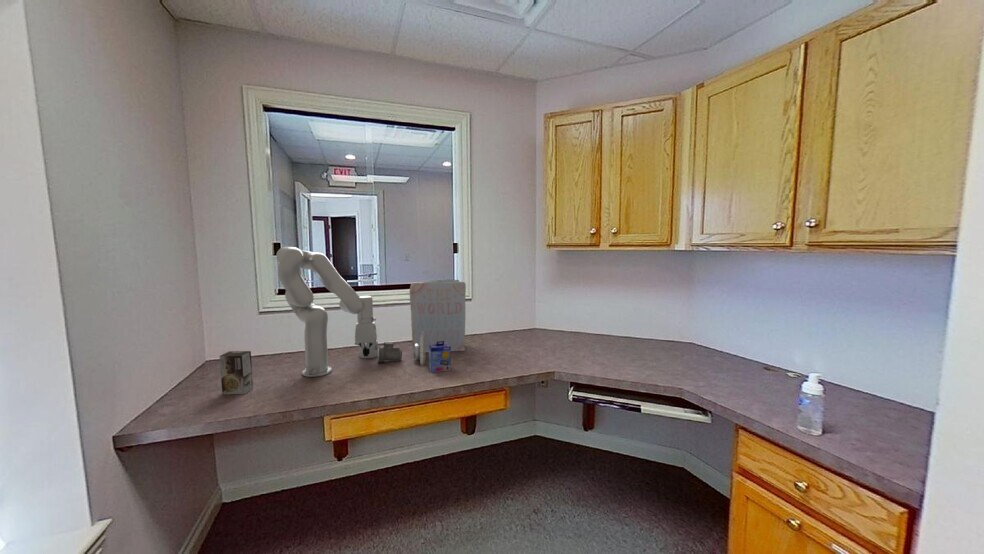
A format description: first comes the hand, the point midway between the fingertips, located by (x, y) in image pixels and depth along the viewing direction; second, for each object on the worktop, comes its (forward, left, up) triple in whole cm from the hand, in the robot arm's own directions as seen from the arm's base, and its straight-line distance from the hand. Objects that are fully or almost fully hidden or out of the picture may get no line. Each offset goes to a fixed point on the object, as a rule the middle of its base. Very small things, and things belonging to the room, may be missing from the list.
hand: (366, 355), depth 197 cm
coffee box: (-36, +43, -3) cm, 56 cm away
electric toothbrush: (+12, +1, -3) cm, 12 cm away
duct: (0, -27, -3) cm, 27 cm away
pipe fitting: (0, -12, -4) cm, 12 cm away
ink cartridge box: (-15, -38, -3) cm, 41 cm away
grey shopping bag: (+24, -35, -3) cm, 42 cm away
